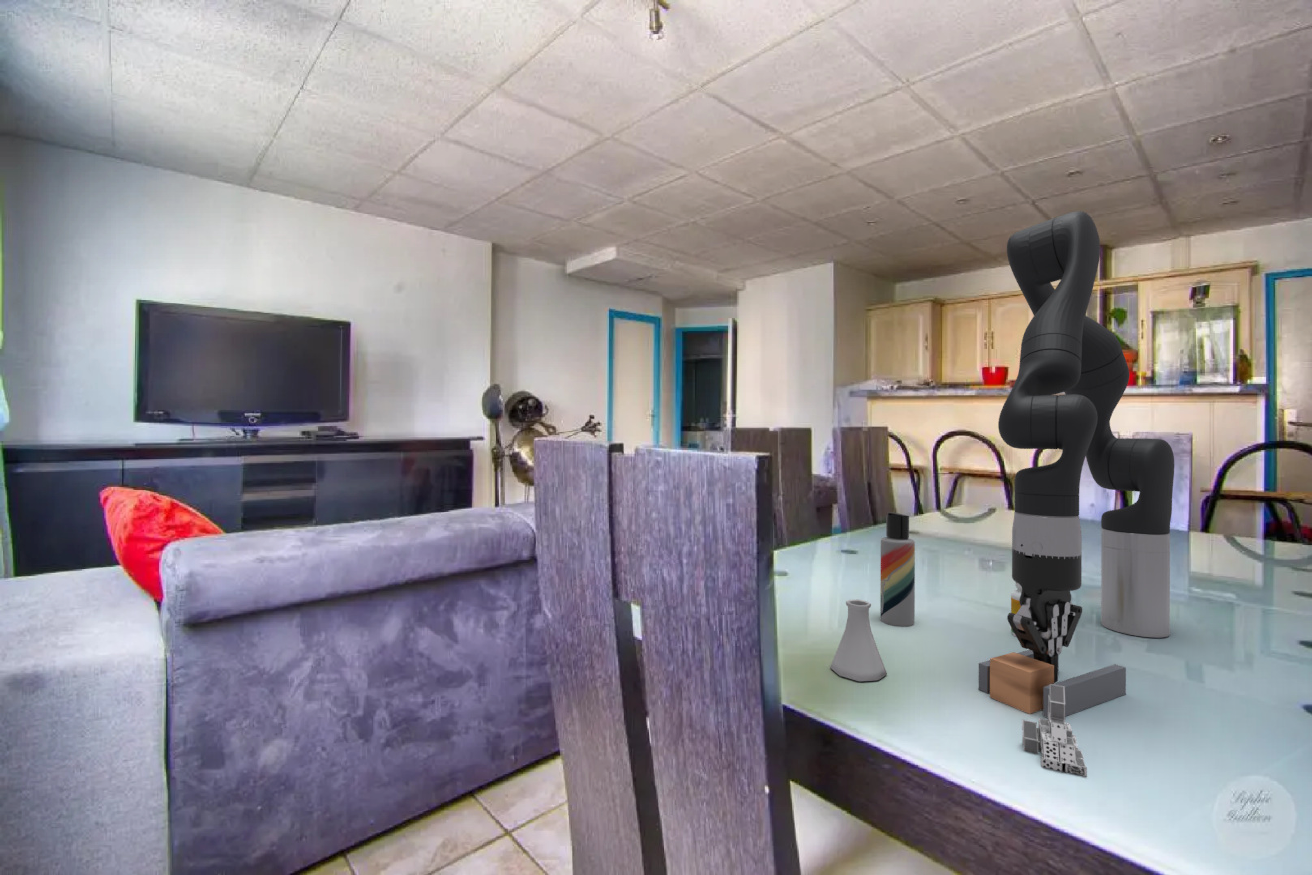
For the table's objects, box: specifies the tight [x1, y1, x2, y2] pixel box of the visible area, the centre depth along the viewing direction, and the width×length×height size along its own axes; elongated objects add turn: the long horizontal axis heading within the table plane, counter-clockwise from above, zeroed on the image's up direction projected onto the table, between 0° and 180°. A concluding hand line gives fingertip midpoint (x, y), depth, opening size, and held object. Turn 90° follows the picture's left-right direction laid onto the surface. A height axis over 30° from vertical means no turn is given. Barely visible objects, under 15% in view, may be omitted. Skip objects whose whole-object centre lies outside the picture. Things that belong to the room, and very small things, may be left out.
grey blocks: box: [978, 649, 1127, 718], centre depth 76 cm, size 16×9×4 cm, turn 117°
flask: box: [829, 599, 888, 682], centre depth 82 cm, size 7×7×10 cm
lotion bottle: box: [879, 511, 916, 628], centre depth 104 cm, size 6×6×20 cm
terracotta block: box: [989, 652, 1054, 715], centre depth 73 cm, size 5×5×5 cm
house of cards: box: [1021, 684, 1088, 777], centre depth 63 cm, size 9×9×8 cm
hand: (1045, 681), depth 75 cm, fingers closed
